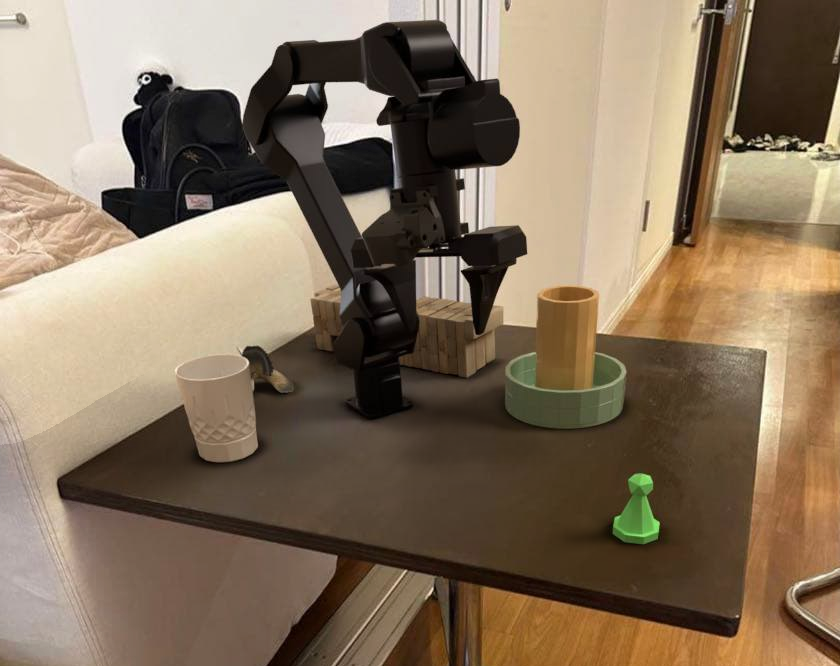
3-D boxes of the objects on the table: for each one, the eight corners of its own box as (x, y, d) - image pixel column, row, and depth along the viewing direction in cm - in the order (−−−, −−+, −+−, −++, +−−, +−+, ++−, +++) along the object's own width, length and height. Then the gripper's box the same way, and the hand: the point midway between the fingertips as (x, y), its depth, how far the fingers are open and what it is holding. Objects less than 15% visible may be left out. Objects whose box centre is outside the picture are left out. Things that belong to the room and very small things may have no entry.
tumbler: (537, 413, 94) (541, 303, 87) (531, 391, 99) (534, 286, 92) (595, 410, 93) (603, 300, 86) (585, 389, 99) (593, 284, 92)
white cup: (203, 472, 86) (184, 385, 81) (186, 445, 92) (167, 363, 87) (272, 454, 89) (258, 369, 84) (251, 429, 95) (237, 349, 90)
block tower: (310, 353, 119) (475, 380, 104) (301, 297, 115) (472, 317, 100) (343, 337, 125) (505, 361, 110) (336, 283, 120) (503, 300, 105)
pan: (482, 400, 99) (481, 366, 96) (568, 374, 105) (570, 341, 102) (556, 439, 89) (558, 402, 86) (647, 407, 95) (652, 371, 92)
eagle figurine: (211, 394, 102) (272, 385, 99) (209, 339, 102) (269, 329, 99) (244, 404, 109) (301, 396, 106) (242, 353, 110) (299, 344, 106)
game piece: (667, 542, 70) (675, 483, 67) (619, 546, 70) (625, 487, 67) (650, 517, 74) (658, 460, 71) (605, 521, 74) (610, 464, 70)
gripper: (301, 190, 77) (330, 348, 84) (454, 175, 66) (473, 359, 73) (375, 176, 85) (396, 322, 92) (524, 160, 73) (535, 328, 81)
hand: (444, 332), depth 84 cm, fingers open, 9 cm apart
